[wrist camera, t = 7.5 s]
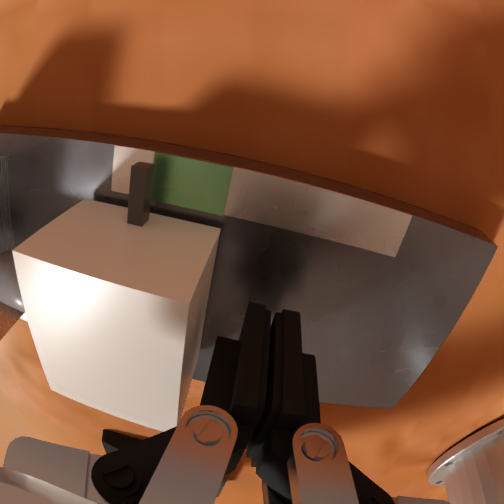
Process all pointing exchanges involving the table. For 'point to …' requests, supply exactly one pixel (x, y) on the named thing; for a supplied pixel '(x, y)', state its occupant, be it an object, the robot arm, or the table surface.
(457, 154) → the table surface
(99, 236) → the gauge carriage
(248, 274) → the gauge base
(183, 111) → the table surface
